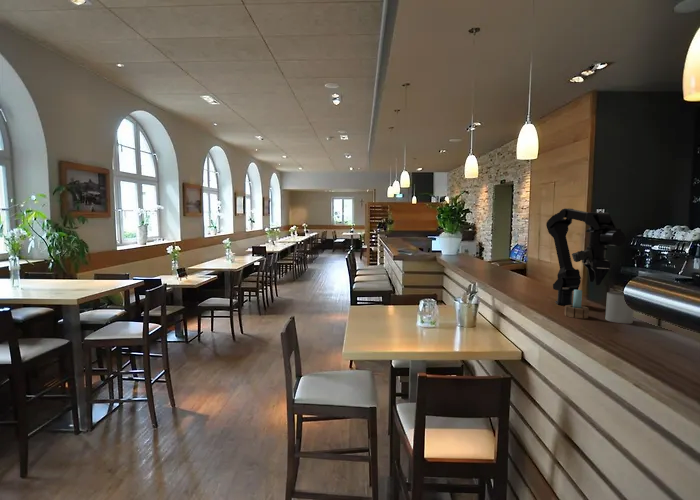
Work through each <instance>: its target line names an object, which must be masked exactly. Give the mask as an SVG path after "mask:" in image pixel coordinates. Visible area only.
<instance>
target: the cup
mask: <svg viewBox="0 0 700 500" xmlns="http://www.w3.org/2000/svg"><path fill="white" fill-rule="evenodd" d="M624 293H625V292H621V291H608V292H606V302H605V303H606V304H605V305H606V306H605V317H604V318H605V320H606V321H608V322H611V323H612V322H613V323H616V324H617V323H619V324H633V322H634V310H635V309H634V310H632V309H631V308H629V307H628V306H627V304H626V302H625V300H624Z"/></svg>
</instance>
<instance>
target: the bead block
mask: <svg viewBox="0 0 700 500" xmlns="http://www.w3.org/2000/svg"><path fill="white" fill-rule="evenodd" d="M589 308H590V307H587V306H583V305H581V308H573V305H564V316H565V317H570V318H575V319H589V312H590V311H589V310H590V309H589Z"/></svg>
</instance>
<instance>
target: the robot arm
mask: <svg viewBox="0 0 700 500" xmlns="http://www.w3.org/2000/svg"><path fill="white" fill-rule="evenodd" d="M573 220H575V221H579V222H584V224H585V225H587V226H589V228H587V229H586V231H585V232H586V233H589V241H588V242H589V243H588V245H587V246H586V249H584V250H583V249H582V250H579V251H577V252H576V251H575V252H573V253H570V248H569V243H568V240H567V234H568V231H569V226H570V225H571V224H572V223H573ZM545 225H546V229H547V232H548V234H549V235H550V236H551V237H552V238H553V242H554V246H555V252H556V257H557V260H558V265H559V270H558V273H557V279H556V280H555V281H554V283H553V284H552V289H553V290H555V291H557V300H555V301H554V302H555V303H556V305H560V306H565V305H573V296H574V290H579V288H580V286H581V279H582V277H581V273H580V270H579V269H578V268H577V269H575V268H574V267H573V262H572V259H573V261H574V262H575V263H578V262H581V263H582V265H583V266H584V267H585V268H586V269H587V273H588V278H589V282H590V283H594V282H595V285H596V286H600V285H601V283H602V282H603V280H604V278H605V277H606V276H607V274H608V273H609V271H610V270H611V269H612V266H613V264H612V262H611V261H610V260H607V258H606V251H608V247H607V246H610V247H611V246H613V247H620V246H623V245H624V244H625V242H626V239H627V237H626V236H625V233H624V232H623V231H622V227H617V226H616V224H615V222H614V221H613V218H612V217H611V214H610V213H609V212H598V211H594V212H589V211H584V210H578V209H574V208H565V207H564V208H562V209H561V210H560V211H558V212H557V213H555V214H553V215H551V217H549V219H548V220H547V221H546V223H545ZM571 256H572V257H571Z"/></svg>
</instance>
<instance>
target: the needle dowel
mask: <svg viewBox="0 0 700 500" xmlns="http://www.w3.org/2000/svg"><path fill="white" fill-rule="evenodd" d="M582 296H583V290H582V289H578V290H574V291H573V296H572V303H573V308H581V306H582V302H583V301H582V298H583V297H582Z"/></svg>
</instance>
